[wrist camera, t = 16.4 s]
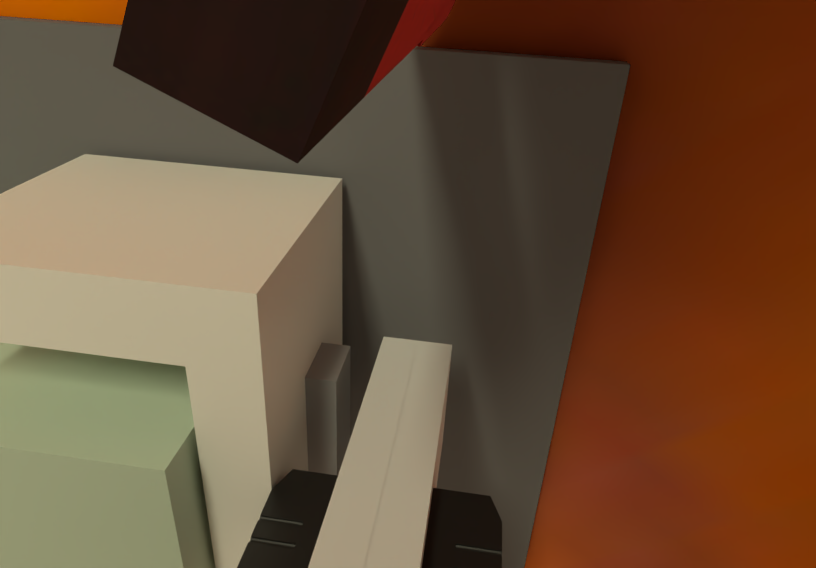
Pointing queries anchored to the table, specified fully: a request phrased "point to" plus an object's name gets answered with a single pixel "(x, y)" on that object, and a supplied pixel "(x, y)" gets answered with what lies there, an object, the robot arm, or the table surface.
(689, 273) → the table surface
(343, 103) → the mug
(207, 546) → the slat
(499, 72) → the mat
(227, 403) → the cap
